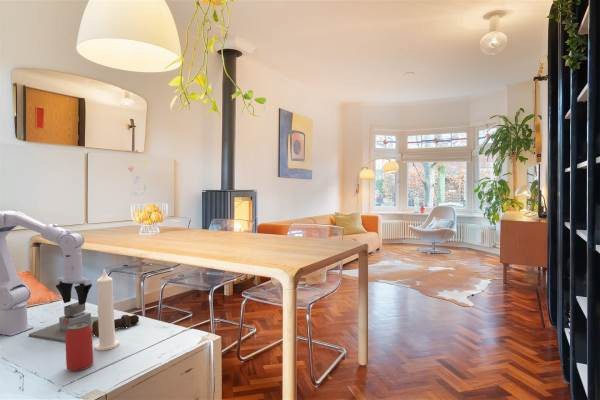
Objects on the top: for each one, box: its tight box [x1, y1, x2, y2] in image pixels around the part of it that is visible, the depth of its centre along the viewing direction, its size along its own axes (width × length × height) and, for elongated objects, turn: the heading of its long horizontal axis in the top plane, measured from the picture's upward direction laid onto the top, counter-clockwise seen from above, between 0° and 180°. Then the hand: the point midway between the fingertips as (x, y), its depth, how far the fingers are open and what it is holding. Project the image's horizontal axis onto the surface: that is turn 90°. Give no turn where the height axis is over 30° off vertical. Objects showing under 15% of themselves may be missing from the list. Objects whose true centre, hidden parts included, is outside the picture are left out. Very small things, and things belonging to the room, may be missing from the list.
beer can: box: [64, 322, 94, 372], centre depth 105 cm, size 7×7×12 cm
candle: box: [94, 269, 121, 352], centre depth 118 cm, size 7×7×25 cm
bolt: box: [92, 314, 140, 337], centre depth 133 cm, size 6×5×15 cm
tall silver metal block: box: [63, 301, 86, 318], centre depth 134 cm, size 4×6×8 cm
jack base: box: [28, 311, 116, 343], centre depth 134 cm, size 20×20×5 cm
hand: (74, 303), depth 134 cm, fingers open, 7 cm apart
